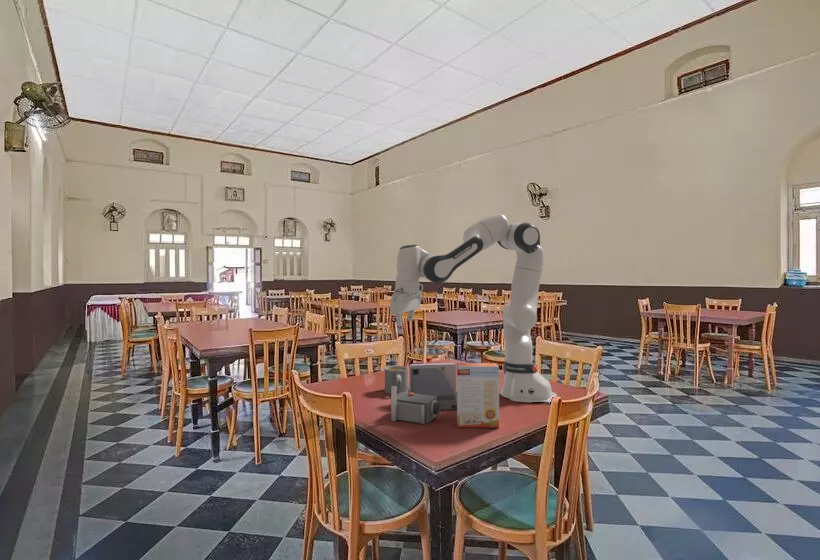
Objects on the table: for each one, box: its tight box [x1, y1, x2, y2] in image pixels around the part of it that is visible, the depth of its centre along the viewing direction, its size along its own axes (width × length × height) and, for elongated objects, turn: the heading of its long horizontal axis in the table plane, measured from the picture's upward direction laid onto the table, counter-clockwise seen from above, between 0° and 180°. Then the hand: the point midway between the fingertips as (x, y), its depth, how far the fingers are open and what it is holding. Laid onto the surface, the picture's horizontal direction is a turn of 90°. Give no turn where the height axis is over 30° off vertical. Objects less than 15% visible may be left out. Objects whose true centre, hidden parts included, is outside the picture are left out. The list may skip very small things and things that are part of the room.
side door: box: [390, 386, 425, 425], centre depth 151 cm, size 12×3×12 cm, turn 67°
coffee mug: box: [384, 365, 409, 395], centre depth 188 cm, size 13×10×10 cm
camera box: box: [397, 392, 441, 424], centre depth 157 cm, size 16×9×8 cm, turn 67°
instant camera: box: [407, 362, 457, 411], centre depth 173 cm, size 21×21×15 cm
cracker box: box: [456, 362, 500, 429], centre depth 149 cm, size 14×6×21 cm, turn 86°
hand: (404, 322), depth 169 cm, fingers open, 8 cm apart
